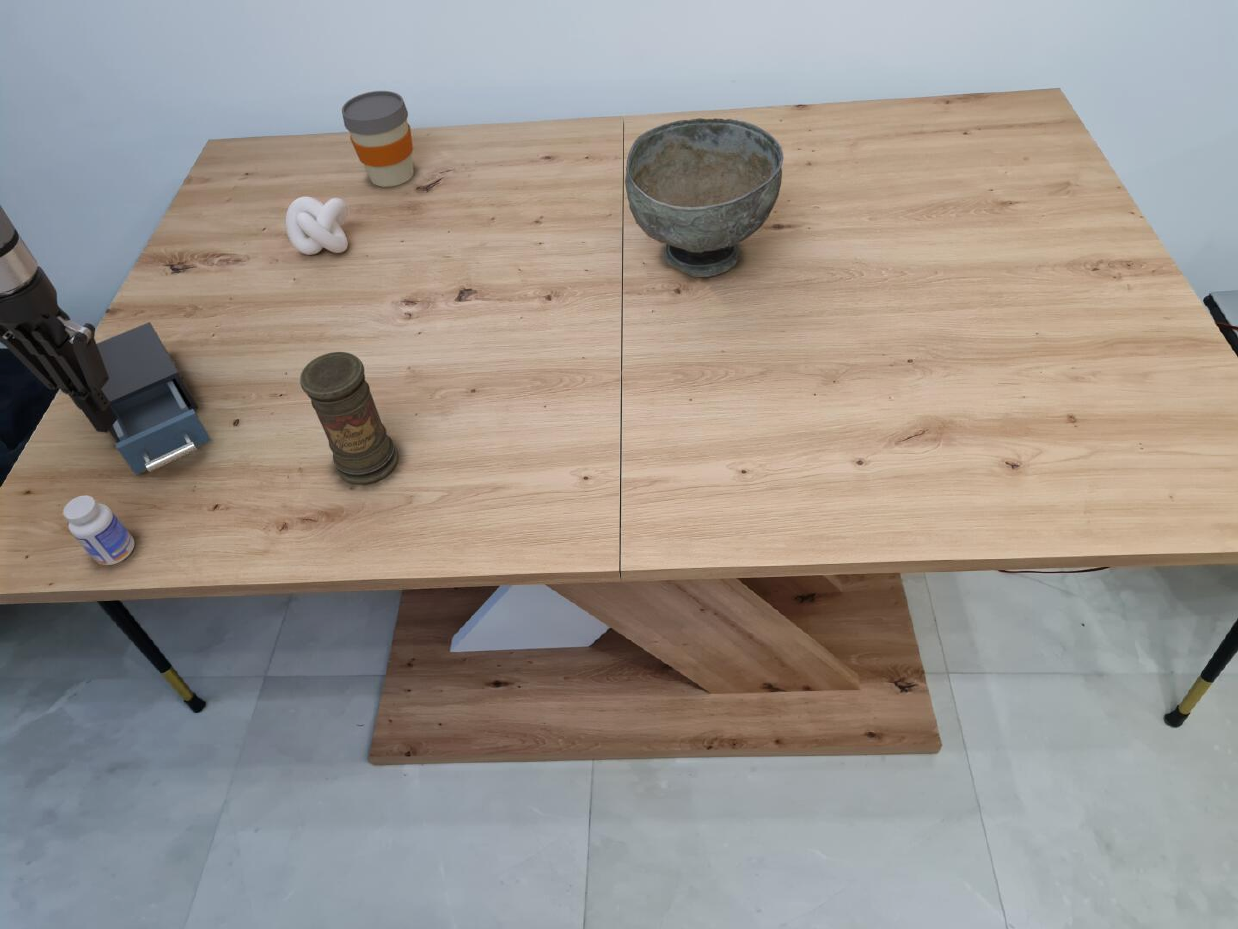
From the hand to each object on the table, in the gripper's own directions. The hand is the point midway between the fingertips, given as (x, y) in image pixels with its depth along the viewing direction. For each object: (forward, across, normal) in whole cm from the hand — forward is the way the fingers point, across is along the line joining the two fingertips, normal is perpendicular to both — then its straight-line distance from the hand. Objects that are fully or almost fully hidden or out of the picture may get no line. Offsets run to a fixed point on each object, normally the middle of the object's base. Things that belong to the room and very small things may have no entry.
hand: (107, 424), depth 119 cm
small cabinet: (+15, +13, -19) cm, 28 cm away
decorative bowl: (+15, -72, -64) cm, 98 cm away
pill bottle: (+15, +1, +10) cm, 18 cm away
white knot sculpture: (+15, -2, -62) cm, 63 cm away
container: (+15, -29, -10) cm, 34 cm away
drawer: (+14, +4, -10) cm, 18 cm away
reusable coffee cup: (+15, -5, -88) cm, 89 cm away
